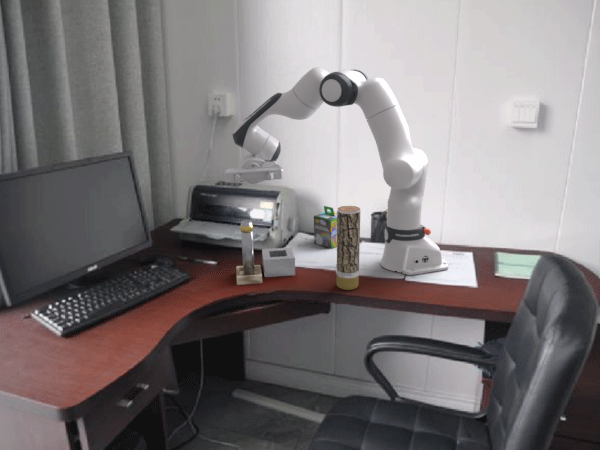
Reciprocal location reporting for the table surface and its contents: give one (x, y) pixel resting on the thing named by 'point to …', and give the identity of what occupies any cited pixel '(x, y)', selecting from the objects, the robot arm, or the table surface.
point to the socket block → (278, 262)
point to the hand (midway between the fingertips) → (254, 178)
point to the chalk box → (326, 228)
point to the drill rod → (247, 247)
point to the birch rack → (249, 276)
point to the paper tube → (348, 247)
